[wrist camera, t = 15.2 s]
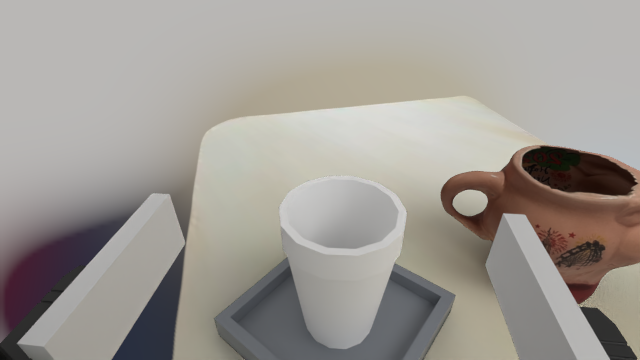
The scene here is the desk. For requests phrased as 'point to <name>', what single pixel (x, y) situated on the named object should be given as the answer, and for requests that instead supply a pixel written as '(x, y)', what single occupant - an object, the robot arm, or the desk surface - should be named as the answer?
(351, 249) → the foam cup
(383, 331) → the charcoal tray
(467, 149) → the desk surface
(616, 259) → the sculpted ceramic mug
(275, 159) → the desk surface
